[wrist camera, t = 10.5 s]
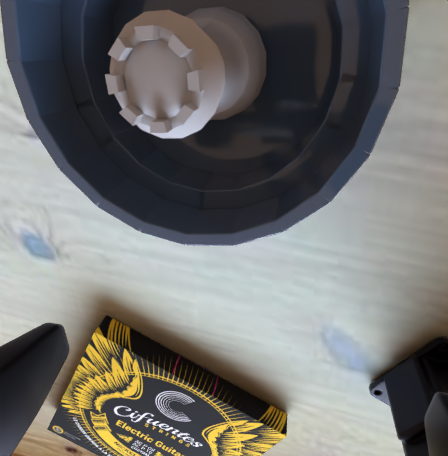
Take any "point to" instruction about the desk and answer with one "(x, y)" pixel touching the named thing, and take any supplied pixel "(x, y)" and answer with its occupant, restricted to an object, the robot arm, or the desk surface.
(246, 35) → the rook chess piece
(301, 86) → the basin
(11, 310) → the desk surface
